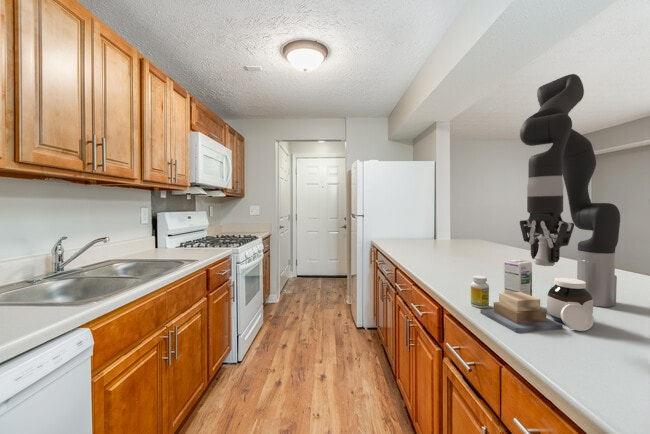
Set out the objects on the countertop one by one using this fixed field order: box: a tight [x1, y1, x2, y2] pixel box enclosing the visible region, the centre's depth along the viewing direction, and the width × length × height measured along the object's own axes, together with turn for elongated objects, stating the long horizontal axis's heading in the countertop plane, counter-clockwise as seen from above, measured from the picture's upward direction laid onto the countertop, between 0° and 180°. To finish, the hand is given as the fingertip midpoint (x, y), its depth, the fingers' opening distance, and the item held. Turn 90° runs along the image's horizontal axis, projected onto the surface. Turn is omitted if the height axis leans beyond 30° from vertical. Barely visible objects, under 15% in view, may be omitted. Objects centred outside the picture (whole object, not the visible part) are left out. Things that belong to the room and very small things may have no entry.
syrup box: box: [503, 259, 533, 296], centre depth 99 cm, size 6×6×14 cm
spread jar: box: [546, 277, 595, 332], centre depth 83 cm, size 12×11×12 cm
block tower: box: [480, 292, 564, 333], centre depth 86 cm, size 14×14×7 cm
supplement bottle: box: [470, 275, 490, 309], centre depth 98 cm, size 5×5×10 cm
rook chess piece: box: [533, 234, 556, 267], centre depth 77 cm, size 4×4×8 cm
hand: (544, 260), depth 78 cm, fingers closed on rook chess piece, 4 cm apart
